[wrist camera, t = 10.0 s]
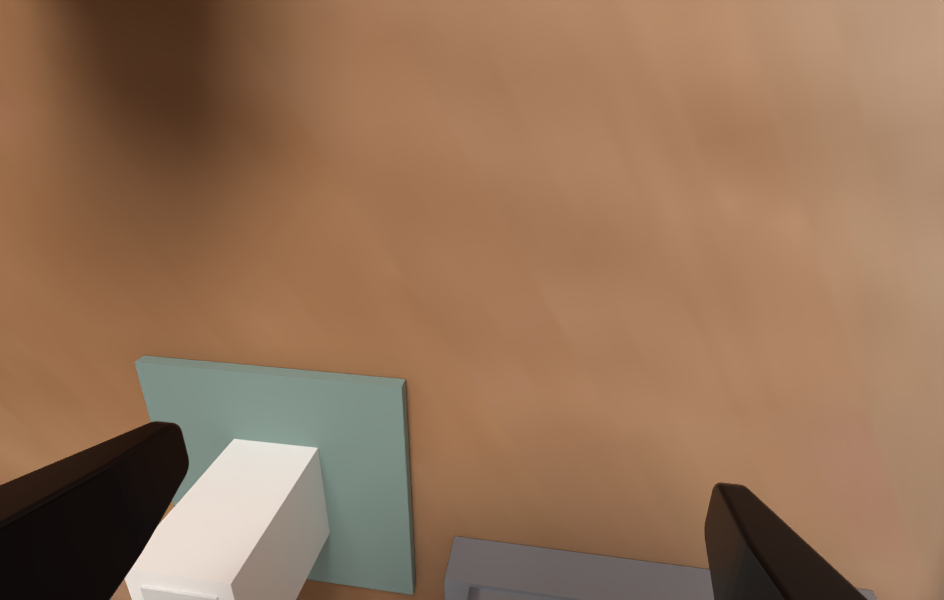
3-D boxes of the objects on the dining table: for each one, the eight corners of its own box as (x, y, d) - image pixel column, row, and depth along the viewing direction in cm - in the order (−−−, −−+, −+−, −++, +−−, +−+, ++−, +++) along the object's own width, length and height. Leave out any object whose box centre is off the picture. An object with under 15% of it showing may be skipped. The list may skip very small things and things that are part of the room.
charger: (317, 447, 25) (228, 587, 18) (329, 532, 27) (253, 685, 20) (233, 438, 25) (118, 570, 19) (251, 522, 27) (153, 667, 21)
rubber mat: (405, 379, 23) (401, 387, 23) (416, 584, 28) (412, 595, 27) (144, 355, 25) (134, 362, 24) (196, 552, 30) (189, 562, 29)
